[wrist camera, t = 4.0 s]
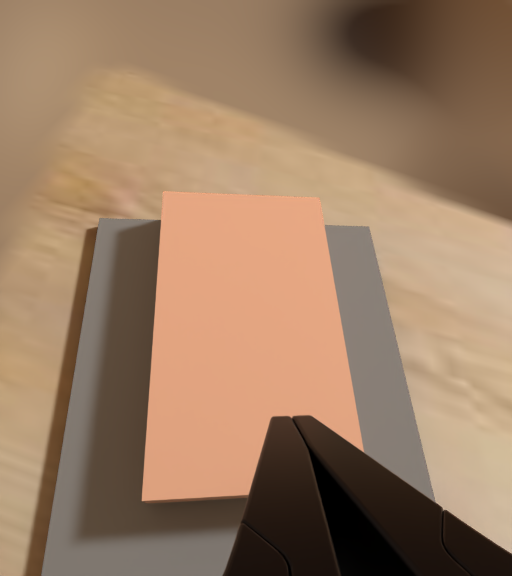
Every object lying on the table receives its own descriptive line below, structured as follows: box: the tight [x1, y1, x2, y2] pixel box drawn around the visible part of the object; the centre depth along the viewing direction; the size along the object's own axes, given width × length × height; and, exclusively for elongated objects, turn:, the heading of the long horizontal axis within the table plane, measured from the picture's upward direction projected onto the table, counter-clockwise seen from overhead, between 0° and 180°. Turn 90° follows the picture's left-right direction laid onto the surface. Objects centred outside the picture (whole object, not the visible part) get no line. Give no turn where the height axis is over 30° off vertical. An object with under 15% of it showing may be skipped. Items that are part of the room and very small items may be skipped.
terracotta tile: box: [142, 191, 364, 504], centre depth 16 cm, size 2×7×12 cm
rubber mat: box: [41, 218, 436, 576], centre depth 16 cm, size 19×13×1 cm
